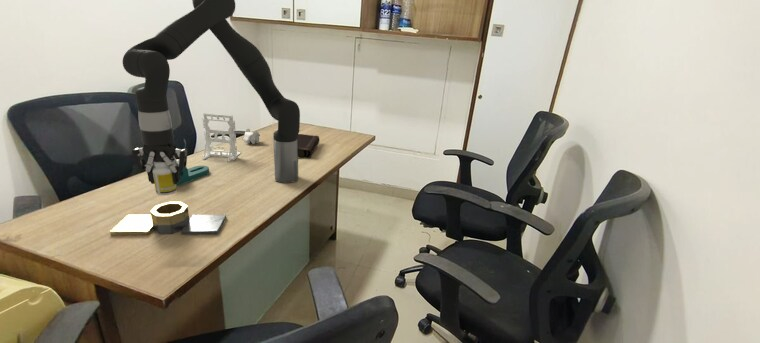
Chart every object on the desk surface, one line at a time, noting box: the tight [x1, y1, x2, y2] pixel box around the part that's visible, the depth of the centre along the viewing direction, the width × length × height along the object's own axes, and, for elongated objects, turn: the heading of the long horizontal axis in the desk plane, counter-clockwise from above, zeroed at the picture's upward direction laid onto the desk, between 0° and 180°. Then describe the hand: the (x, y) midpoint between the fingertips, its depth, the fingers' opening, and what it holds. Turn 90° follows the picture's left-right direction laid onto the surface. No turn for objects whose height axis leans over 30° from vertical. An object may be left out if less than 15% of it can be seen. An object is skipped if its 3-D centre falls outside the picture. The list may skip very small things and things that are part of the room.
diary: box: [297, 133, 320, 159], centre depth 184 cm, size 19×25×5 cm
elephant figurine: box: [241, 128, 261, 145], centre depth 187 cm, size 8×10×7 cm
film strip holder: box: [201, 113, 242, 163], centre depth 164 cm, size 14×14×20 cm
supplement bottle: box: [153, 162, 178, 196], centre depth 103 cm, size 5×5×10 cm
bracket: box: [176, 164, 210, 187], centre depth 141 cm, size 18×7×8 cm, turn 155°
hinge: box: [109, 201, 227, 236], centre depth 108 cm, size 29×10×6 cm, turn 98°
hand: (165, 182), depth 104 cm, fingers closed on supplement bottle, 5 cm apart
